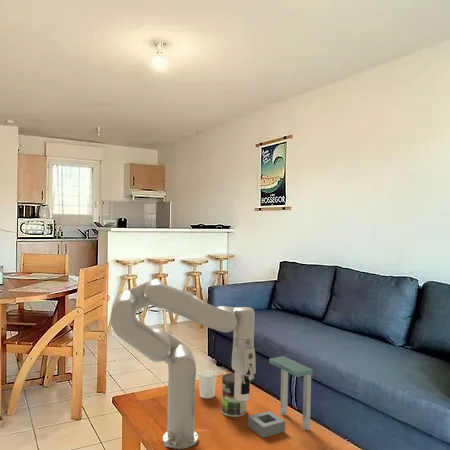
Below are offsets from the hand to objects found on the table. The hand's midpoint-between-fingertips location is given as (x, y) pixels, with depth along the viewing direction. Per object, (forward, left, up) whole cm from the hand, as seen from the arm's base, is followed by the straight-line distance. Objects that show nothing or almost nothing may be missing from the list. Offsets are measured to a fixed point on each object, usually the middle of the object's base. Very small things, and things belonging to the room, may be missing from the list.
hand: (241, 391), depth 157 cm
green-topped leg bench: (+16, -15, -16) cm, 28 cm away
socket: (+8, -8, -16) cm, 20 cm away
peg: (0, 0, -3) cm, 3 cm away
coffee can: (+18, +8, -17) cm, 26 cm away
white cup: (+29, +24, -17) cm, 42 cm away
